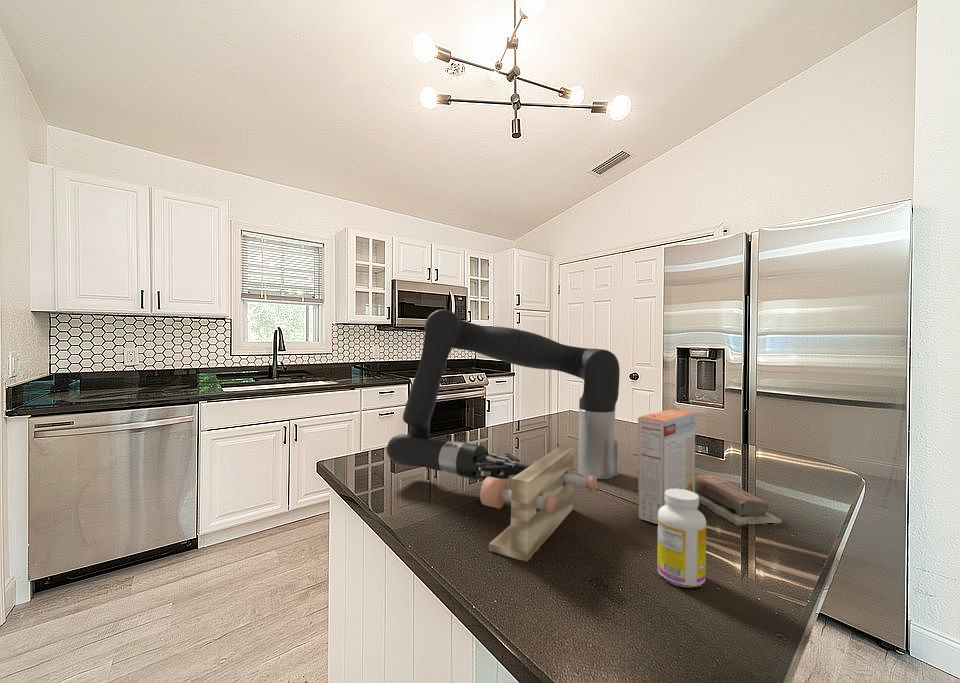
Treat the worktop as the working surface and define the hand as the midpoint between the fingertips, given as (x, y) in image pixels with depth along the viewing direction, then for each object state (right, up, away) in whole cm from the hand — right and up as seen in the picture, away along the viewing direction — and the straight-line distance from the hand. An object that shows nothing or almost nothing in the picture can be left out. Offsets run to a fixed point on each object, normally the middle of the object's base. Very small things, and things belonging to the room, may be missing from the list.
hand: (533, 472), depth 87 cm
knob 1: (-4, -3, -14) cm, 15 cm away
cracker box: (+27, -9, -1) cm, 29 cm away
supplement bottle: (+19, -9, -24) cm, 32 cm away
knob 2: (+5, -3, -3) cm, 7 cm away
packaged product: (+43, -9, +4) cm, 44 cm away
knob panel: (-1, -8, -8) cm, 11 cm away
